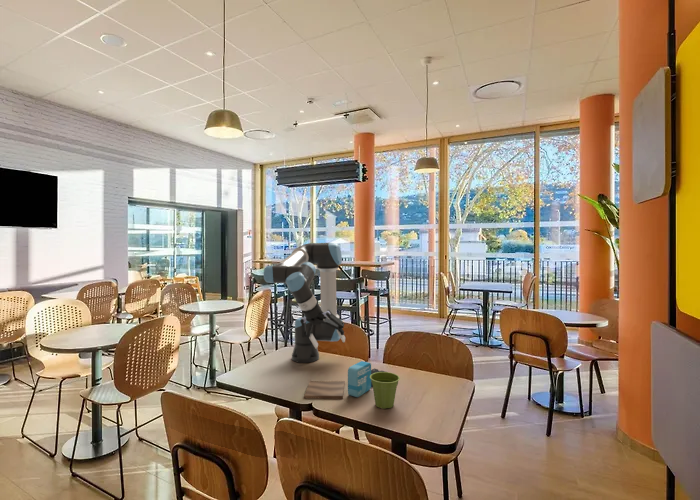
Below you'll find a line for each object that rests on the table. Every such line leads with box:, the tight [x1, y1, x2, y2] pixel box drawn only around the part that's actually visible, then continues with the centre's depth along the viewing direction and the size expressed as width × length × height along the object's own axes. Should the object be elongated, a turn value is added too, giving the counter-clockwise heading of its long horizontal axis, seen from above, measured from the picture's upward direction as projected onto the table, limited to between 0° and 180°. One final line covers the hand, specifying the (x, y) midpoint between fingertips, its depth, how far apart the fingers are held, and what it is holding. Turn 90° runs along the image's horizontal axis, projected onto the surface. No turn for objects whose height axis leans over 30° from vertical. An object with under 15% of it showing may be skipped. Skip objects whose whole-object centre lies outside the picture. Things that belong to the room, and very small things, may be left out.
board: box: [304, 380, 346, 400], centre depth 156 cm, size 16×16×1 cm
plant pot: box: [370, 371, 401, 410], centre depth 141 cm, size 12×12×11 cm
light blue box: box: [347, 360, 372, 398], centre depth 154 cm, size 12×4×12 cm, turn 146°
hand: (330, 343), depth 158 cm, fingers open, 13 cm apart
